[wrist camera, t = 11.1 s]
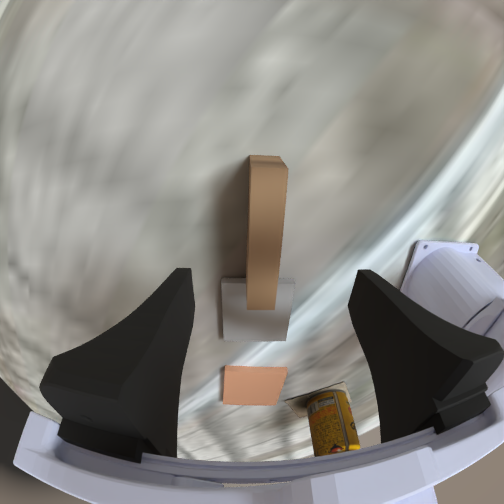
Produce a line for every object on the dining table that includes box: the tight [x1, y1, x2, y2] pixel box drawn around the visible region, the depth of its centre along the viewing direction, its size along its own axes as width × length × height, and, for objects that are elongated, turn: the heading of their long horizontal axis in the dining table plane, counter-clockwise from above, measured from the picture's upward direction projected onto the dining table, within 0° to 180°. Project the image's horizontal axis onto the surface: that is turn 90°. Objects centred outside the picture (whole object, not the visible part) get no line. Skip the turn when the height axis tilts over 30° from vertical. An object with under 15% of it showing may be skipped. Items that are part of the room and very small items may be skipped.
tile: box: [223, 365, 288, 405], centre depth 31 cm, size 7×1×8 cm
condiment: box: [285, 382, 360, 457], centre depth 29 cm, size 7×8×12 cm
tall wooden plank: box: [221, 155, 295, 341], centre depth 20 cm, size 17×6×4 cm, turn 178°
